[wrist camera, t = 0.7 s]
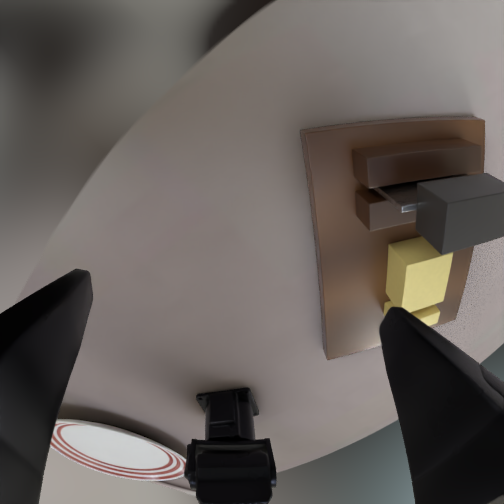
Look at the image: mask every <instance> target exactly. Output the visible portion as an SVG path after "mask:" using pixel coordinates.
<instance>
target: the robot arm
mask: <svg viewBox="0 0 504 504" xmlns="http://www.w3.org/2000/svg"><path fill="white" fill-rule="evenodd" d="M92 301H93V291H92V283H91V276H90V273H89V272H88V271H87V270H81V269H75V270H73V271H71V272H69V273H67V274H66V275H64V276H62V277H60V278H59V279H57V280H55V281H53V282H52V283H50V284H48V285H47V286H45V287H43V288H42V289H40V290H38V291H36V292H35V293H33V294H31V295H30V296H28V297H26V298H25V299H23V300H22V301H20V302H18V303H17V304H15V305H13V306H12V307H10V308H9V309H7V310H5V311H4V312H2V313H1V314H0V504H39V499H40V492H41V487H42V481H43V475H44V470H45V466H46V461H47V456H48V452H49V448H50V444H51V440H52V436H53V432H54V428H55V424H56V421H57V417H58V414H59V410H60V407H61V403H62V400H63V397H64V394H65V390H66V387H67V384H68V381H69V378H70V375H71V372H72V369H73V367H74V364H75V361H76V358H77V355H78V352H79V349H80V346H81V342H82V339H83V335H84V331H85V327H86V323H87V320H88V316H89V312H90V309H91V305H92ZM379 336H380V340H381V345H382V350H383V356H384V361H385V366H386V371H387V375H388V379H389V383H390V387H391V390H392V394H393V398H394V402H395V406H396V409H397V414H398V418H399V422H400V426H401V430H402V434H403V439H404V443H405V448H406V453H407V457H408V463H409V468H410V473H411V479H412V481H413V482H412V486H413V492H414V498H415V504H504V382H503V381H502V380H500V379H499V378H498V377H496V376H495V375H494V374H492V373H491V372H490V371H488V370H487V369H486V368H484V367H483V366H482V365H479V363H478V362H476V361H475V360H474V359H473V358H471V357H470V356H469V355H467V354H466V353H465V352H463V351H462V350H461V349H459V348H458V347H457V346H455V345H454V344H453V343H451V342H450V341H449V340H447V339H446V338H444V337H443V336H442V335H440V334H439V333H438V332H436V331H435V330H434V329H432V328H431V327H429V326H428V325H427V324H425V323H424V322H422V321H421V320H420V319H418V318H417V317H416V316H414V315H413V314H411V313H410V312H409V311H407V310H406V309H404V308H403V307H394V306H393V307H391V308H390V309H389V310H388V311H387V313H386V315H385V317H384V319H383V320H382V322H381V324H380V326H379ZM196 400H197V401H198V403H199V404H200V406H201V407H202V409H203V410H204V412H205V440H197V439H192V442H191V444H189V445H187V459H186V464H185V470H184V477H185V478H186V479H188V480H189V484H190V487H191V489H192V490H196V498H197V500H198V502H199V504H269V502H270V500H271V498H272V488H275V487H276V467H275V462H274V457H273V452H272V448H271V443H270V438H265V439H260V440H255V430H254V420H253V416H257V415H259V410H258V408H257V405H256V403H255V400H254V398H253V395H252V393H251V390H250V388H240V389H234V390H227V391H219V392H212V393H204V394H197V395H196Z"/></svg>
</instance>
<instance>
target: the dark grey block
mask: <svg viewBox="0 0 504 504" xmlns="http://www.w3.org/2000/svg"><path fill="white" fill-rule="evenodd" d="M373 189H374V190H375V191H377V192H378V193H379V194H380V195H382V196H383V197H384V198H385V199H386V200H388V201H389V202H390V203H391V204H392V205H393V206H395V207H396V208H397V209H398V210H399V211H400V212H402V213H403V212H408V211H413V210H416V227H415V229H416V231H417V232H418V233H419V234H420V235H421V236H422V237H424V238H425V239H426V240H427V241H428V242H429V243H430V244H431V245H432V246H433V247H434V248H435V249H436V250H437V251H438V252H439V253H440V254H441V255H444V254H448V253H451V252H455V251H458V250H462V249H465V248H468V247H472V246H475V245H478V244H481V243H485V242H488V241H491V240H494V239H497V238H501V237H504V182H502V181H501V180H499V179H497V178H495V177H493V176H492V175H490V174H488V173H482V174H475V175H467V174H459V175H451V176H445V177H438V178H431V179H424V180H418V181H412V182H405V183H399V184H393V185H387V186H381V187H375V188H373Z"/></svg>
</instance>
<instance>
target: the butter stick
mask: <svg viewBox="0 0 504 504" xmlns="http://www.w3.org/2000/svg"><path fill="white" fill-rule="evenodd" d="M452 257H453V252H451V253H448V254H444V255H441V254H440V253H439V252H438V251H437V250H436V249H435V248H434V247H433V246H432V245H431V244H430V243H429V242H428V241H427V240H426V239H425V238H424V237H422V236H421V237H417V238H413V239H408V240H404V241H400V242H396V243H392V244H389V247H388V266H387V281H386V294H387V295H388V297H389V298H390V300H391V301H392V303H393V305H394V306H395V307H403V308H404V309H406V310H407V311H409V312H413V311H416V310H419V309H422V308H425V307H428V306H431V305H434V304H437V303H440V302H442V301H443V300H444V296H445V292H446V287H447V283H448V278H449V273H450V268H451V263H452Z"/></svg>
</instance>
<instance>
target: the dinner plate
mask: <svg viewBox="0 0 504 504" xmlns="http://www.w3.org/2000/svg"><path fill="white" fill-rule="evenodd" d="M50 446H51V447H52V448H53V449H54V450H56V451H57V452H58V453H60V454H62V455H63V456H65V457H67V458H69V459H70V460H72V461H74V462H76V463H79V464H81V465H83V466H85V467H88V468H90V469H93V470H96V471H99V472H103V473H106V474H109V475H113V476H118V477H122V478H129V479H135V480H145V481H163V480H171V479H177V478H180V477H183V476H184V470H185V464H186V459H185V458H184V457H183V456H181V455H179V454H178V453H176V452H175V451H173V450H171V449H169V448H168V447H166V446H164V445H162V444H160V443H157V442H155V441H153V440H151V439H148V438H146V437H143V436H141V435H138V434H136V433H133V432H130V431H128V430H125V429H121V428H118V427H114V426H110V425H106V424H101V423H95V422H89V421H82V420H72V419H57V421H56V424H55V428H54V432H53V436H52V440H51V444H50Z"/></svg>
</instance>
